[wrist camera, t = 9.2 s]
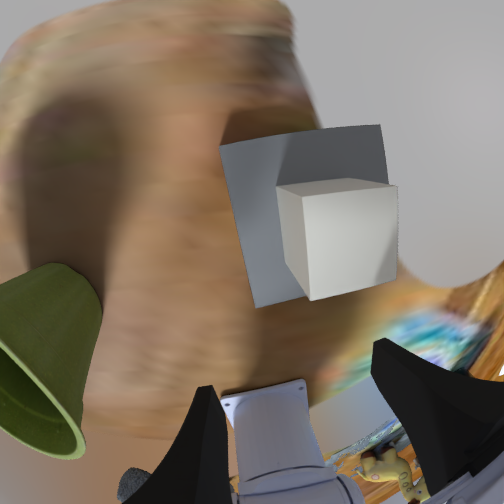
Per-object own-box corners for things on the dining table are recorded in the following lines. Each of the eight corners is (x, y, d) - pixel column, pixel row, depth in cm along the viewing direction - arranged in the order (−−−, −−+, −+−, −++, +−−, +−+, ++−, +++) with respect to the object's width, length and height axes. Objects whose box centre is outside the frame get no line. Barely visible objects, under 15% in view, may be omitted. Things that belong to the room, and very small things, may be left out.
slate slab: (372, 256, 20) (392, 270, 18) (250, 287, 20) (255, 308, 17) (358, 128, 17) (380, 124, 14) (218, 149, 17) (218, 146, 14)
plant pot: (1, 286, 17) (-69, 351, 6) (59, 201, 16) (-57, 250, 5) (82, 376, 21) (44, 466, 10) (160, 321, 19) (127, 447, 9)
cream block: (352, 248, 17) (395, 279, 12) (284, 261, 16) (310, 301, 12) (348, 177, 15) (397, 186, 10) (275, 186, 15) (301, 196, 10)
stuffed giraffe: (423, 431, 34) (457, 490, 19) (342, 478, 36) (361, 539, 21) (408, 402, 29) (456, 482, 14) (303, 461, 32) (323, 545, 17)
